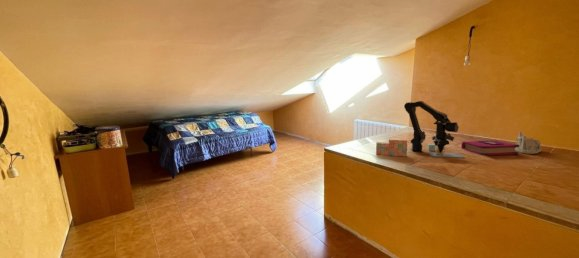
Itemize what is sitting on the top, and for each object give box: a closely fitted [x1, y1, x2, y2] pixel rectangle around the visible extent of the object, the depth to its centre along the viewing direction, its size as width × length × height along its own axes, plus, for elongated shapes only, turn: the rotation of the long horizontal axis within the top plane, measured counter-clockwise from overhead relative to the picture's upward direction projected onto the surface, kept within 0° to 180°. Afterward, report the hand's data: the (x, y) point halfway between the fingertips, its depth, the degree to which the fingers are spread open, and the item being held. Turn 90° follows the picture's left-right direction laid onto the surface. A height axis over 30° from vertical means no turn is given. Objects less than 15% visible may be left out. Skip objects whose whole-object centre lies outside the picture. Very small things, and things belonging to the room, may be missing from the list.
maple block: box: [434, 146, 446, 154], centre depth 179 cm, size 5×5×5 cm
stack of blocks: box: [375, 137, 408, 158], centre depth 184 cm, size 21×6×12 cm, turn 70°
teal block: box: [426, 143, 435, 152], centre depth 195 cm, size 5×5×5 cm
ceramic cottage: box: [515, 131, 542, 155], centre depth 183 cm, size 16×16×15 cm
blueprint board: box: [427, 151, 466, 159], centre depth 178 cm, size 20×12×1 cm, turn 74°
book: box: [460, 139, 519, 157], centre depth 187 cm, size 21×28×8 cm
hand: (439, 151), depth 179 cm, fingers closed on maple block, 5 cm apart
